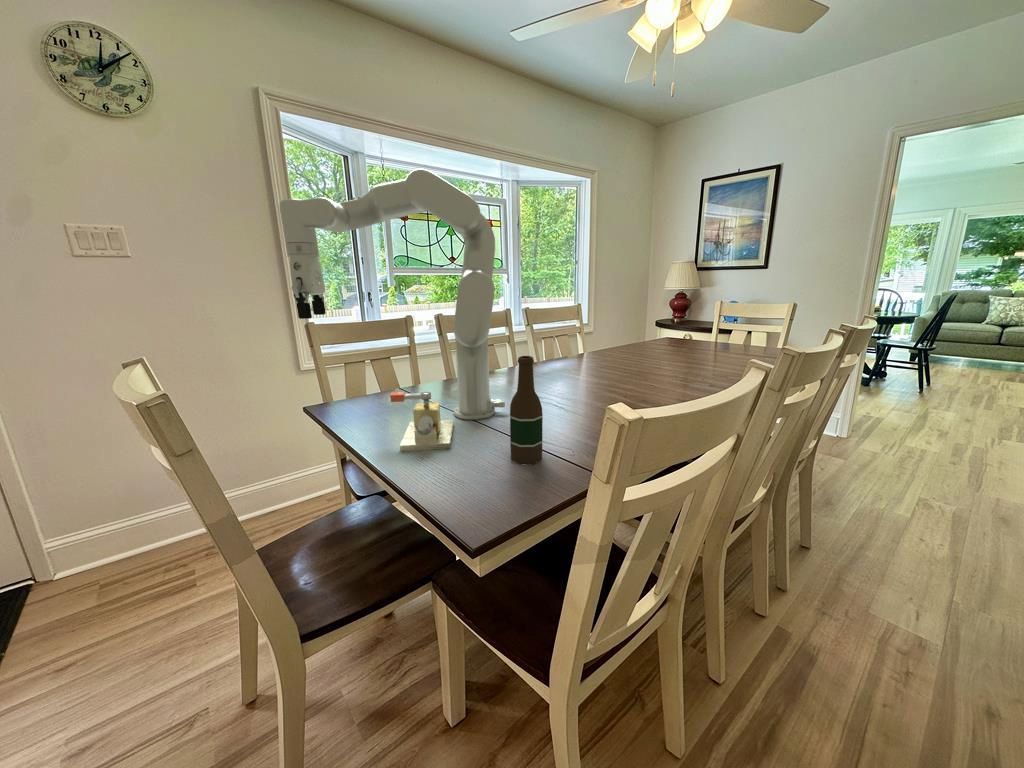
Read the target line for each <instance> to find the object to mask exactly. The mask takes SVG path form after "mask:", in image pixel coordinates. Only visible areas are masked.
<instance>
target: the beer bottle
mask: <svg viewBox="0 0 1024 768" xmlns="http://www.w3.org/2000/svg"><path fill="white" fill-rule="evenodd" d="M517 363H518V374H517V375H518V377H517V388H516V392H515V394H514V395H513V396H512V398H511V400H510V401H511V402H510V407H509V425H510V426H509V430H510V431H509V433H510V435H509V437H510V439H509V440H510V460H511V461H512V462H513V461H514V462H513V463H517V464H518V463H519V464H518V465H520V464H532V465H535V464H537V463H539V462H540V460H541V461H542V458H543V420H544V419H543V415H544V414H543V406H542V403H541V400H540V397H539V396H538V394H537V393H536V390H535V382H534V381H535V380H534V379H535V378H534V363H535V361H534V357H533V356H531V355H521V356H518V358H517ZM538 461H539V462H538ZM536 462H537V463H536ZM534 463H535V464H534Z"/></svg>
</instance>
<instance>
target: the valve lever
mask: <svg viewBox="0 0 1024 768" xmlns="http://www.w3.org/2000/svg"><path fill="white" fill-rule="evenodd" d="M389 397H390V402H391V403H399V402H401V403H402V402H403V403H404V402H405V401H406V400H421V401H423V400H429V401H430V400H431V399H432V392H431V391H422V392H420V393H417V392H416V393H415V392H414V393H406V392H405V391H395V392H394V391H393V392H391V393H390V396H389Z"/></svg>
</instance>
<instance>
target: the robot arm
mask: <svg viewBox="0 0 1024 768" xmlns="http://www.w3.org/2000/svg"><path fill="white" fill-rule="evenodd" d="M279 212H280V213H279V214H280V219H281V225H282V230H283V238H284V242H285V243H284V244H285V248H286V249H285V250H286V254H287V257H289V269H290V277H291V290H292V292H293V297H294V302H295V304H296V310H297V317H298V319H300V320H301V319H305V320H307V319H308V320H309V319H312V317H313V316H312V314H313V315H314V316H316V315H317V316H320V315H321V316H322V315H323V316H324V315H326V306H325V297H324V294H325V292H326V287H325V285H326V284H325V281H324V275H323V270H322V266H321V263H320V259H319V257H320V253H319V245H318V238H317V231H316V229H320V230H325V231H329V232H332V233H345V232H349V231H353V230H354V231H355V230H359V229H362V228H367V227H370V226H373V225H376V224H381V223H383V222H386V221H390V220H393V219H399V218H404V217H407V216H408V217H409V216H413V215H417V214H422V213H426V212H428V213H429V214H431V215H433V216H434V217H437V218H438V219H439V220H441V221H443V222H444V223H446V224H447V225H449V226H450V227H451V228H452V229H453V231H455V232H456V233H458V234H459V235H460V236H461V237H462V239H463V242H464V249H463V250H464V251H463V262H462V270H461V275H460V276H461V277H460V279H459V281H458V284H457V294H456V303H455V304H456V305H455V311H454V321H453V333H454V334H453V335H454V337H455V357H456V362H455V363H456V378H457V380H456V381H457V396H458V397H457V399H458V406H456V407H455V408H454V409H453V415H454V416H455V417H456V418H459V419H462V420H469V421H474V420H475V421H477V420H482V419H486V418H489V417H492V416H493V415H494V414H495V413H496V408H505V407H506V402H505V401H504V400H501V399H494V398H493V399H492V398H491V395H490V366H489V365H490V364H489V363H490V362H489V357H490V355H489V339H488V337H489V334H490V328H491V321H492V314H493V307H494V300H495V284H494V281H493V274H494V265H495V253H496V237H495V234H494V231H493V228H492V226H491V224H490V222H489V220H488V219H487V218H486V217H485V215H484V214H482V212H481V209H480V205H479V204H478V202H477V201H476V200H475V199H474V198H473V197H472V196H470V195H469V194H468V193H466V192H465V191H463V190H461V189H459V188H458V187H456V186H455V185H453V184H451V183H450V182H448V181H447V180H445V179H443V178H442V177H441V176H439V175H437V174H436V173H435V172H433V171H431V170H429V169H425V168H416V169H413V170H412V171H410V172H409V173H408V174H407V176H406V178H404V179H399V180H395V181H390V182H386V183H385V182H384V183H381V184H376V185H374V186H373V187H372V188H370V190H369V191H368V192H367V193H366V194H365V195H363V196H361V197H357V198H355V199H350V200H345V201H341V202H336V201H333V200H331V199H330V198H327V197H322V196H321V197H312V198H308V199H299V198H285V199H281V201H279ZM309 297H311V299H312V300H311V302H309ZM311 306H312V308H311ZM312 312H313V313H312Z"/></svg>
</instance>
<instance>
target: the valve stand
mask: <svg viewBox="0 0 1024 768" xmlns="http://www.w3.org/2000/svg"><path fill="white" fill-rule="evenodd" d="M422 401H423V402H418V403H416V404H415V406H414V408H413V410H412V411H413V413H412V414H413V421H409V424H408V426H407V428H406V431H405V433H404V435H403V437H402V440H401V442H400V444H399V449H400V452H410V451H411V452H414V451H429V450H431V451H432V450H450V449H451V446H452V439H451V438H453V432H452V431H453V430H454V419H444V420H443V419H441V407H440V402H439V401H438V402H433V401H430V399H429V400H422ZM450 445H451V446H450Z"/></svg>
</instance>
